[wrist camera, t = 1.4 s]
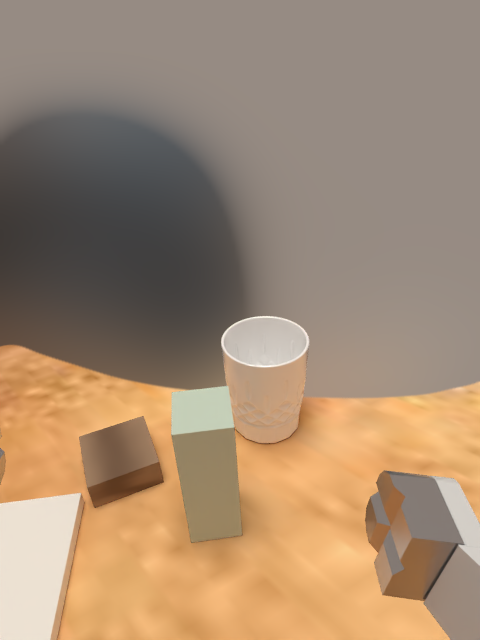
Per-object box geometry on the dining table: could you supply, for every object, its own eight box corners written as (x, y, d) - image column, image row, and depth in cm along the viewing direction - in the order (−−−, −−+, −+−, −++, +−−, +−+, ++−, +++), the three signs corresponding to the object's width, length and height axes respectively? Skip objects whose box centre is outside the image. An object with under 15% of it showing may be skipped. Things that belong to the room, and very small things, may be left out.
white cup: (321, 422, 44) (327, 341, 39) (262, 463, 40) (260, 379, 35) (269, 382, 49) (268, 307, 44) (212, 416, 45) (204, 337, 40)
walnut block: (148, 437, 44) (143, 415, 42) (164, 484, 39) (159, 461, 37) (86, 458, 42) (79, 436, 40) (95, 510, 37) (87, 487, 35)
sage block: (236, 491, 38) (228, 385, 31) (242, 535, 34) (234, 427, 28) (189, 497, 37) (171, 392, 31) (191, 542, 34) (171, 435, 27)
